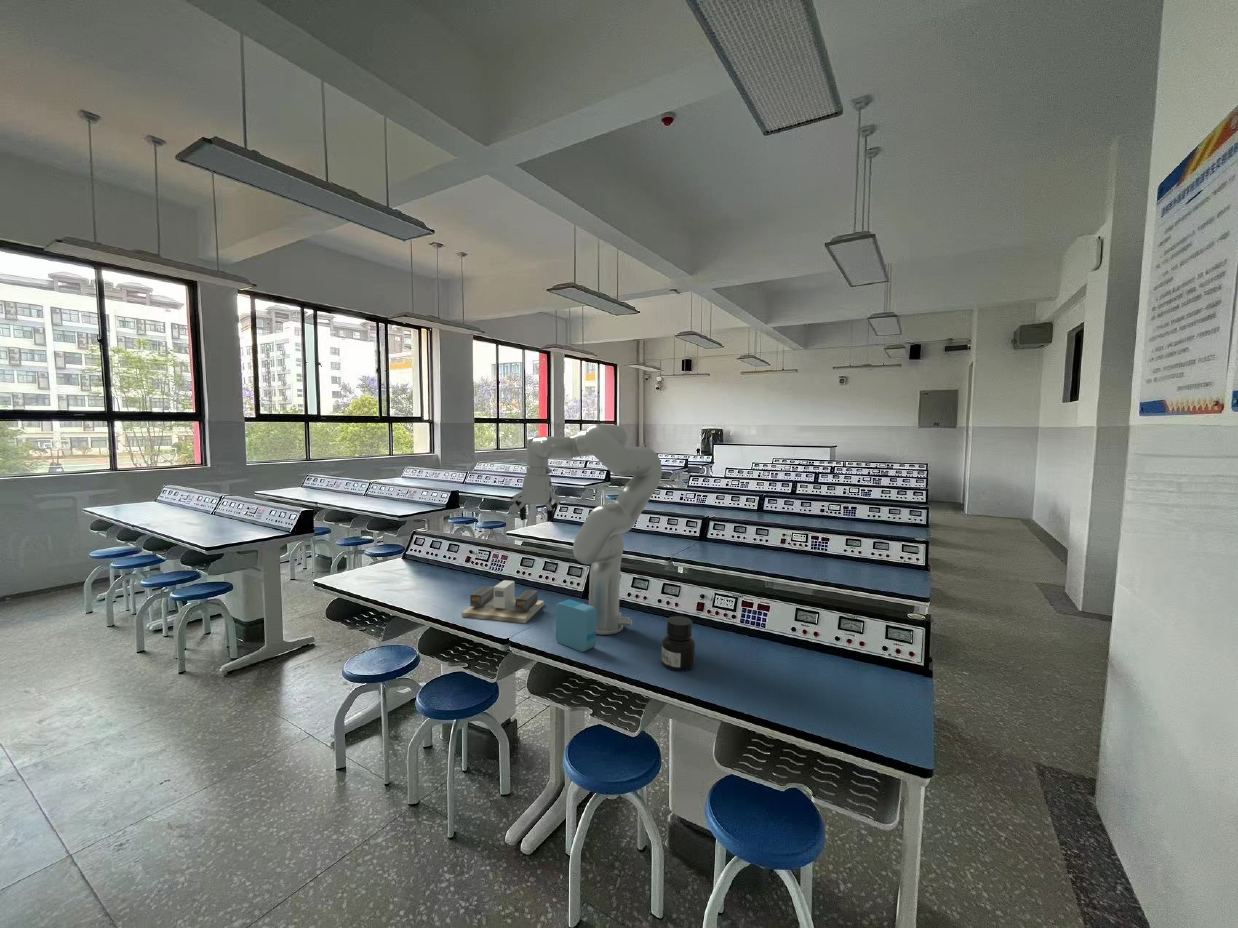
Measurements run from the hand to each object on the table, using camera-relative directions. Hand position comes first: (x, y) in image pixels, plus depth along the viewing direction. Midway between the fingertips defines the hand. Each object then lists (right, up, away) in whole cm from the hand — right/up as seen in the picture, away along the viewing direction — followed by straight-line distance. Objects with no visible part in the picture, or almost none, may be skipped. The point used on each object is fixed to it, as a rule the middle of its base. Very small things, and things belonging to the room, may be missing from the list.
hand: (536, 520), depth 177 cm
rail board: (-10, -30, -5) cm, 32 cm away
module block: (-10, -28, -5) cm, 30 cm away
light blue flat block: (+16, -33, -31) cm, 48 cm away
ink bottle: (+45, -34, -41) cm, 70 cm away
